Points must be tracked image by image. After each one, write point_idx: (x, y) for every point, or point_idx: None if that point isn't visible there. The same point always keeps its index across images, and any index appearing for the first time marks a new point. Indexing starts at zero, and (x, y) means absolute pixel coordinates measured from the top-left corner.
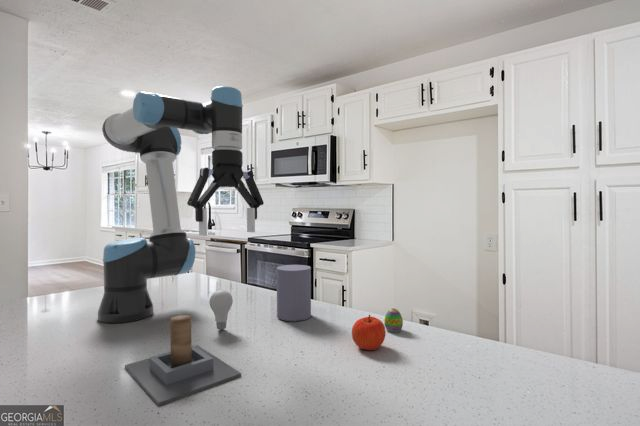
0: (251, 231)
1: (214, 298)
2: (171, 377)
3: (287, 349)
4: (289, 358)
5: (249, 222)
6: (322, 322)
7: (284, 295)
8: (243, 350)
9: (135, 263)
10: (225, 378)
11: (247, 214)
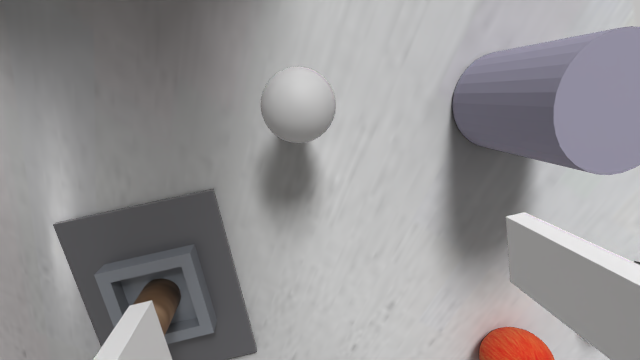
0: (513, 272)
1: (271, 125)
2: None
3: (373, 285)
4: (357, 322)
5: (560, 281)
6: (521, 181)
7: (496, 130)
8: (297, 250)
9: None
10: (227, 358)
11: (625, 286)
